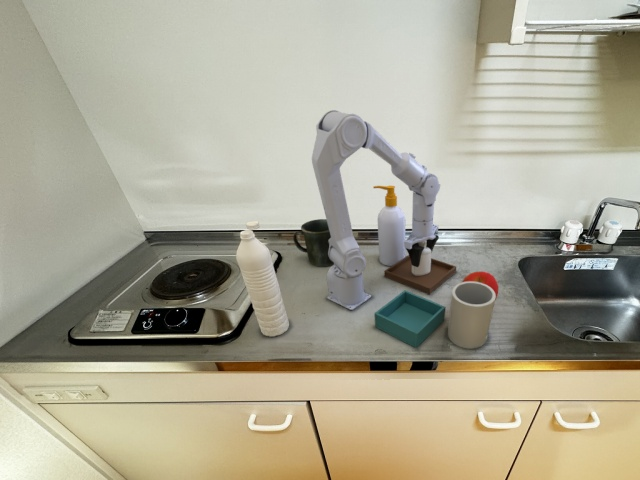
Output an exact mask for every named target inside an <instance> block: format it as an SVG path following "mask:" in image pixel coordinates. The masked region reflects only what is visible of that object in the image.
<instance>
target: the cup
mask: <svg viewBox="0 0 640 480" xmlns="http://www.w3.org/2000/svg"><path fill="white" fill-rule="evenodd" d="M495 298H496V294H495V292H494V290H493V289H492V288H491V287H489V286H487V285H486V284H483V283H480V282H474V281H467V282H462V281H461V282H459V283H457V284H456V285H454V286H453V287H452V290H451V298H450V305H449V306H450V307H449V314H448V315H449V317H448V325H447V337H448V339H449V340H450V341H451V343H453V344H454V345H455V346H457V347H460V348H462V349H463V348H464V349H469V350H471V349H477V348H480V347H483V345H485V344H486V343H487V340H488V336H489V331H490V328H491V327H490V326H491V321H492V316H493V312H494V307H495V303H496V300H495ZM496 299H497V298H496Z"/></svg>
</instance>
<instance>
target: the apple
mask: <svg viewBox="0 0 640 480" xmlns="http://www.w3.org/2000/svg"><path fill="white" fill-rule="evenodd" d="M467 281H474V282H480V283H483V284H486V285H487V286H489V287H491V288H492V289H493V290H494V292H495V294H496V298H495V301H497V297H498V294H499V284H498V281H497V280H496V278H495V276H494V275H492V274H491V273H489V272H486V271H481V270H480V271H474V272H471V273H469V274H467V275H466V276H465V277H464V278H463V279H462V281H461V283H462V282H467Z"/></svg>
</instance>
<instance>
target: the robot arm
mask: <svg viewBox="0 0 640 480" xmlns="http://www.w3.org/2000/svg"><path fill="white" fill-rule="evenodd" d="M315 131H316V136H315V141H314V144H313V150H312V155H311V164H312V168H313V172H314V176H315V179H316V184H317V187H318V191H319V192H318V193H319V195H320V200H321V203H322V207H323V210H324V215H325V219H327V223H328V227H329V231H330V235H331V238H330V239H329V240H328V241H329V251H328V256H329V258H330V260H331V261H332V262H334V264H333V265H331V266H330V268H329V269H328V271H327V273H326V284H327V288H328V295H327V300H329V301H331V302H334V303H335V304H337V305H339V306H341V307H343V308H345V309H347V310H350V311H353V310H356V309H357V308H358V307H359V306H361V305H363V304H364V303H365V302H366V301H368V300H370V298H372V295H371V294H369V293H367V292H365V287H364V275H363V272H364V271H365V269H366V266H367V260H366V258H365V256H364V255H363V254H362V253H361V248H360V246H359V244H358V242H357V240H356V238H355V236H354V233H353V228H352V222H351V217H350V212H349V207H348V203H347V198H346V193H345V188H344V183H343V178H342V174H341V167H342V166H343V164H344V163H345V162H346V160H347V159H348V158H350V157H351V156H352V155H354V154H355V153H356V152H358V151H359V150H360V149H361V148H363V149H369V151H371V152H372V153H373V154H375V155H376V156H378V157H379V158H380V159H382V160H383V161H384V162H386V163H387V164H388V165H390V169H391V174H392V175H393V176H395V177H396V178H397V179H399V181H401V182H402V183H403V184H405V185H406V186H407V187H408V189H409V191H411V192H412V211H411V212H412V214H411V215H412V216H411V217H412V218H411V232H410V233H409V235H408V237H407V239H405V241H404V248H405V251H406V252H407V254H408V255H409V256H410V259H411V263H412V266H415V267H419V264H420V258H421V254H422V251H423V249H424V247H422V246H419V244H418V242H421V241H425V240H426V241H427V242H426V247H428V248H430V249H431V255H433V254H432V253H433V250H434V248H435V245H436V244H437V242H438V240H439V238H440V237H439V236H440V235H438V234H437V233H438V232H439V225H437V224H435V223H434V213H435V212H434V211H435V203H436V200H437V195H438V193H439V192H440V189H441V184H440V182H439V178H438V177H437V176H436V175H435V174H434V173H431V172H428V170H427V169H428V168H427V166H425V165H423V164H420V163H419V162H418V161H417V160H416V155H414V153H411V152H401V153H400V152H399V151H398V150H397V149H396V148H395V147H394V146H393V145H392V144H391V143H390V142H388V140H387V139H386V138H384V136H383V135H382V134H380V132H379V131H377V129H376V128H374V126H373V125H372V124H371V123H369V122H367V121H364V119H363V118H362V117H361V116H360V115H359V114H356V113H346V112H342V111H338V110H335V109H332V110H328V111H326V112H324V114H323V115H322V116H321V118H320V119H319V121H318V122H317V123H316V126H315Z"/></svg>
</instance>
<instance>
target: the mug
mask: <svg viewBox="0 0 640 480" xmlns="http://www.w3.org/2000/svg"><path fill="white" fill-rule="evenodd" d="M300 229H301V230H299V231H295V232H294V234H293V236H292V239H293V242H294V245H295V246H296V248H297V249H298V250H299V251H300V252H301V253H302V252H303V253H305V254H307V258H308V262H309V263H310V264H311V265H312V266H315V267H331V266H333V265H334V262H332V261H331V260H330V258H329V256H328V251H329V241H328V240H329V239H330V238H331V235H330V231H329V227H328V223H327V219H326V218H319V219H313V220H309V221H306V222H304V223H303V224H301V226H300ZM297 236H303V238H304V243H305V247H304V246H302V245H301V244H300V242H299V240H298V237H297Z"/></svg>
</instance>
